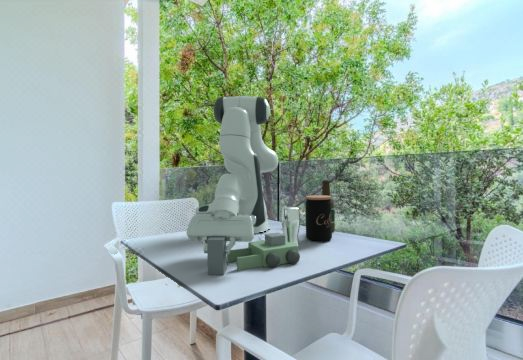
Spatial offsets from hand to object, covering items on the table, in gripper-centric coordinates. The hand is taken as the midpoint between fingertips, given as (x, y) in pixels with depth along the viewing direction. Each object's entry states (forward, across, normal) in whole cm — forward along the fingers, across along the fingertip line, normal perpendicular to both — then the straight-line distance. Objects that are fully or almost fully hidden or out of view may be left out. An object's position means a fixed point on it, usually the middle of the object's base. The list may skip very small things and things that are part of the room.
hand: (216, 252), depth 90 cm
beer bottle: (-39, -35, -48) cm, 71 cm away
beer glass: (-17, -20, -26) cm, 37 cm away
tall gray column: (+4, 0, -5) cm, 6 cm away
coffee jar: (-27, -31, -36) cm, 55 cm away
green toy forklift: (-5, -11, -13) cm, 18 cm away
